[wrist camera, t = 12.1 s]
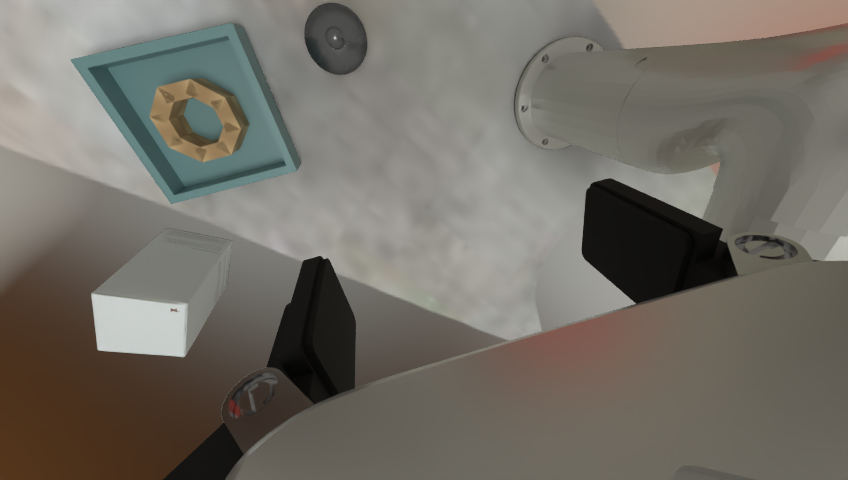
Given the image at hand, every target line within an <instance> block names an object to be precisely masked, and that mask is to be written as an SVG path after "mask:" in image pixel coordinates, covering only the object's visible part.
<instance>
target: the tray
mask: <svg viewBox="0 0 848 480" xmlns="http://www.w3.org/2000/svg"><path fill="white" fill-rule="evenodd" d="M71 61H72V63H73V64H74V66H75V67H76V69H77V70H78V71H79V73H80V74H81V76H82V77H83V79H84V80H85V81H86V83H87V84H88V86H89V87H90V89H91V90H92V91H93V93H94V94H95V96H96V97H97V99H98V100H99V101H100V103H101V104H102V106H103V107H104V109H105V110H106V111H107V113H108V114H109V116H110V117H111V119H112V120H113V121H114V123H115V124H116V126H117V127H118V129H119V130H120V132H121V133H122V134H123V136H124V137H125V139H126V140H127V142H128V143H129V144H130V146H131V147H132V149H133V150H134V152H135V153H136V154H137V156H138V157H139V159H140V160H141V162H142V163H143V164H144V166H145V167H146V169H147V170H148V172H149V173H150V174H151V176H152V177H153V179H154V180H155V182H156V183H157V184H158V186H159V187H160V189H161V190H162V192H163V193H164V194H165V196H166V197H167V199H168V200H169V202H170V203H171V204H173V203H177V202H181V201H185V200H188V199H192V198H196V197H200V196H204V195H207V194H211V193H215V192H219V191H223V190H226V189H230V188H234V187H238V186H242V185H245V184H249V183H253V182H257V181H261V180H264V179H268V178H272V177H276V176H280V175H283V174H287V173H291V172H295V171H297V170H298V168H299V166H300V164H301V161H300V159H299V157H298V154H297V152H296V150H295V147H294V145H293V143H292V140H291V138H290V135H289V133H288V131H287V128H286V126H285V124H284V121H283V119H282V117H281V114H280V112H279V109H278V107H277V105H276V102H275V100H274V98H273V95H272V93H271V91H270V88H269V86H268V84H267V81H266V79H265V76H264V74H263V72H262V69H261V67H260V65H259V62H258V60H257V58H256V55H255V53H254V51H253V48H252V46H251V43H250V41H249V39H248V36H247V34H246V32H245V29H244V27H242V26H239V25H237V24H234V23H229V24H225V25H220V26H216V27H211V28H207V29H203V30H198V31H194V32H189V33H185V34H181V35H176V36H172V37H167V38H163V39H159V40H154V41H150V42H145V43H141V44H137V45H132V46H128V47H123V48H119V49H115V50H110V51H106V52H101V53H97V54H93V55H88V56H84V57H79V58H75V59H71ZM197 78H205V79H206V80H208V81H210V82H212V83H214V84H216V85H218V86H219V87H221V88H223V89H225V90H227V91H229V92H230V93H232V94H234V95H236V97H237V99H238V101H239V104H240V106H241V108H242V110H243V112H244V114H245V116H246V118H247V120H248V122H249V124H250V125H249V127H248V130H247V132H246V135H245V138H244V140H243V143H242V145H241V148H240V149H239V150H237V151H236V152H234V153H233V154H232V155H229V156H225V157H221V158H217V159H213V160H209V161H206V162H201V161H198V160H196V159H194V158H192V157H189V156H187V155H185V154H183V153H180V152H178V151H176V150H174V149H171V148H169V146H168V145H167V143H166V142H165V140H164V139H163V137H162V136H161V134H160V133H159V131H158V129H157V128H156V126H155V125H154V123H153V122H152V120H151V119H150V117H149V116H150V112H151V108H152V105H153V101H154V97H155V94H156V90H157V87H159V86H163V85H168V84H172V83H176V82H180V81H184V80H188V79H197ZM184 116H185V118H186V120H187V122H188V123H189V125H190V127H191V128H192V130H193V132H194V133H196V134H199V135H201V136H203V137H205V138H207V139H209V140H211V141H214V140H218V139H219V138H220V135H221V132H222V130H223V125H222V123H221V121H220V119H219V117H218V115H217V114H216V112H215V110H214V108H213V107H211V106H209V105H207V104H205V103H203V102H201V101H199V100H197V99H195V98H191V99H188V102H187V106H186V109H185V112H184Z"/></svg>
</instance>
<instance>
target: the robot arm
mask: <svg viewBox="0 0 848 480" xmlns="http://www.w3.org/2000/svg"><path fill="white" fill-rule="evenodd" d="M542 57H543V60H542ZM521 107H522V109H521ZM515 114H516V120H517V123H518V126H519V128H520V130H521V132H522V133H523V135H524V136H525V137H526V138H527V139H528V140H529V141H530V142H532V143H533V144H535V145H537V146H539V147H542V148H546V149H561V148H565V147H568V146H570V145H575V146H578V147H581V148H583V149H586V150H589V151H592V152H595V153H597V154H600V155H603V156H606V157H609V158H611V159H614V160H617V161H620V162H623V163H626V164H628V165H631V166H634V167H637V168H640V169H643V170H646V171H650V172H654V173H660V174H678V173H685V172H689V171H694V170H697V169H701V168H704V167H707V166H710V165H712V164H715V163H717V162H720V168H719V172H718V174H717V177H716V180H715V183H714V186H713V193H712V195H711V198H710V200H709V203H708V206H707V208H706V211H705V213H704V216H703V218H702V219H700V218H698V217H696V216H694V215H691V214H689V213H687V212H685V211H682V210H680V209H678V208H676V207H674V206H671V205H669V204H667V203H665V202H662V201H660V200H658V199H656V198H654V197H651V196H649V195H647V194H645V193H642V192H640V191H638V190H636V189H633V188H631V187H629V186H627V185H625V184H622V183H620V182H618V181H616V180H613V179H610V178H609V179H605V180H601V181H597V182H594V183H592V184H591V186H590V188H588V189H587V191H586V200H585V213H584V226H583V239H582V255H583V257H584V259H585V260H586V261H588V262H589V263H590V264H591V265H592V266H593V267H594V268H596V269H597V270H598V271H599V272H600V273H601V274H603V275H604V276H605V277H606V278H607V279H608V280H609V281H611V282H612V283H613V284H614V285H615V286H616V287H618V288H619V289H620V290H621V291H622V292H623V293H625V294H626V295H627V296H628V297H629V298H630V299H632V300H633V301H634V302H635V303H636V304H634V305H631V306H627V307H624V308H621V309H617V310H613V311H610V312H606V313H603V314H600V315H596V316H593V317H589V318H586V319H583V320H579V321H576V322H572V323H569V324H565V325H562V326H558V327H555V328H552V329H548V330H544V331H541V332H538V333H534V334H531V335H527V336H524V337H521V338H517V339H514V340H510V341H507V342H504V343H500V344H497V345H494V346H490V347H487V348H484V349H480V350H477V351H474V352H470V353H467V354H463V355H460V356H457V357H454V358H450V359H447V360H443V361H440V362H437V363H433V364H430V365H427V366H424V367H420V368H417V369H413V370H410V371H407V372H403V373H400V374H397V375H394V376H390V377H387V378H384V379H381V380H378V381H375V382H372V383H369V384H366V385H363V386H360V387H357V388H355V338H356V322H355V317H354V314H353V312H352V310H351V308H350V305H349V303H348V301H347V298H346V296H345V294H344V292H343V289H342V287H341V285H340V283H339V280H338V278H337V276H336V274H335V271H334V269H333V267H332V265H331V262H330V260H329V259H328V258H327V259H323V258H322V257H321V256H318V257H315V258H311V259H307V260H304V261H303V263H302V267H301V270H300V274H299V277H298V280H297V284H296V287H295V290H294V294H293V297H292V301H291V303H289V304H288V305H286V307H285V310H284V313H283V316H282V319H281V323H280V326H279V329H278V332H277V336H276V339H275V342H274V345H273V348H272V352H271V355H270V358H269V361H268V364H267V368H263V369H259V370H257V371H255V372H252V373H251V374H249V375H247V376H246V377H245V378H243V379H242V380H241V381H240V382H238V383H237V384H236V385H235V386H234V387H233V389H232V390H231V391H230V392H229V394H228V395H227V397H226V399H225V401H224V403H223V405H222V410H221V415H222V419H223V421H224V423H223V424H222V425H221V426H220V427H219V428H218V429H217V430H216V431H215V432H214V433H213V434H212V435H210V436H209V437H208V438H207V439H206V440H205V441H204V442H203V443H202V444H201V445H200V446H199V447H198V448H196V450H194V451H193V452H192V453H191V454H190V455H189V456H188V457H187V458H186V459H185V460H184V461H183V462H181V463H180V464H179V465H178V466H177V467H176V468H175V469H174V470H173V471H172V472H171V473H170V474H169V475H167V477H166V478H164V479H163V480H848V23H846V24H841V25H836V26H831V27H827V28H821V29H816V30H811V31H805V32H799V33H793V34H787V35H781V36H775V37H769V38H761V39H752V40H743V41H732V42H723V43H711V44H697V45H683V46H669V47H653V48H640V49H639V48H637V49H622V50H606V51H604V49H603V48H602V47H601V46H600V45H599V44H598V43H596V42H595V41H593V40H591V39H589V38H585V37H568V38H564V39H560V40H557V41H555V42H553V43H551V44H549V45H548V46H546V47H545V48H544V49H542V50H541V51H540V52H539V53H538V54H537V55H536V56H535V57H534V58H533V59H532V60H531V62H530V63H529V65H528V66H527V68H526V69H525V71H524V73H523V75H522V77H521V79H520V82H519V85H518V88H517V92H516V98H515Z"/></svg>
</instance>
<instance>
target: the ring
mask: <svg viewBox="0 0 848 480" xmlns="http://www.w3.org/2000/svg"><path fill="white" fill-rule="evenodd" d="M191 98H195V99H197V100H199V101H201V102H203V103H205V104H207V105H209V106H211V107H213V108H214V110H215V112H216V114H217V115H218V117H219V119H220V121H221V123H222V125H223V130H222V132H221V135H220V138H219V139H218V140H214V141H211V140H209V139H207V138H205V137H203V136H201V135H199V134H196V133H194V132H193V130H192V128H191V127H190V125H189V123H188V122H187V120H186V118H185V116H184V112H185V109H186V106H187V102H188V99H191ZM149 117H150V119H151V120H152V122H153V123H154V125H155V126H156V128H157V129H158V131H159V133H160V134H161V136H162V137H163V139H164V140H165V142H166V143H167V145H168V146H169V148H171V149H174V150H176V151H178V152H180V153H183V154H185V155H187V156H189V157H192V158H194V159H196V160H198V161H201V162H206V161H209V160H213V159H217V158H221V157H225V156H229V155H232V154H233V153H234V152H236V151H237V150H239V149H240V148H241V145H242V143H243V140H244V138H245V135H246V132H247V130H248V127H249V125H250V124H249V122H248V120H247V118H246V116H245V114H244V112H243V110H242V108H241V106H240V104H239V101H238V99H237V97H236V95H234V94H232V93H230V92H229V91H227V90H225V89H223V88H221V87H219V86H218V85H216V84H214V83H212V82H210V81H208V80H206V79H205V78H197V79H188V80H184V81H180V82H176V83H172V84H168V85H163V86H159V87H157V90H156V94H155V97H154V101H153V105H152V108H151V112H150V116H149Z"/></svg>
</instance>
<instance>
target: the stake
mask: <svg viewBox="0 0 848 480" xmlns="http://www.w3.org/2000/svg"><path fill="white" fill-rule="evenodd" d="M305 42H306V46H307V49H308V51H309V53H310V55H311V57H312V58H313V60H314V61H315V62H316V63H317V64H318V65H319V66H320V67H321V68H323V69H324V70H326V71H328V72H330V73H333V74H348V73H350V72H352V71H354V70H356V69H357V68H358V67H359V66H360V65H361V63H362V62H363V60H364V57H365V55H366V50H367V37H366V33H365V30H364V27H363V25H362V23H361V21H360V20H359V18H358V17H357V16H356V15H355V14H354V13H353V12H352V11H351V10H350V9H348V8H347V7H345V6H343V5H340V4H336V3H326V4H323V5H320V6H318V7H317V8H316V9H314V10H313V11H312V13H311V14H310V15H309V17H308V19H307V22H306V26H305Z"/></svg>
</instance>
